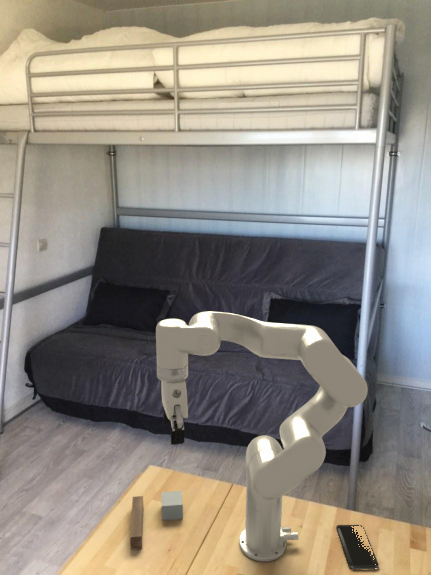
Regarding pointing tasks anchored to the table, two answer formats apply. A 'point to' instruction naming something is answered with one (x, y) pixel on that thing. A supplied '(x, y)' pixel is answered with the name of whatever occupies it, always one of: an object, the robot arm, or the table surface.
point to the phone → (355, 549)
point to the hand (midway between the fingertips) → (173, 432)
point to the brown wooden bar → (136, 523)
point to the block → (172, 505)
